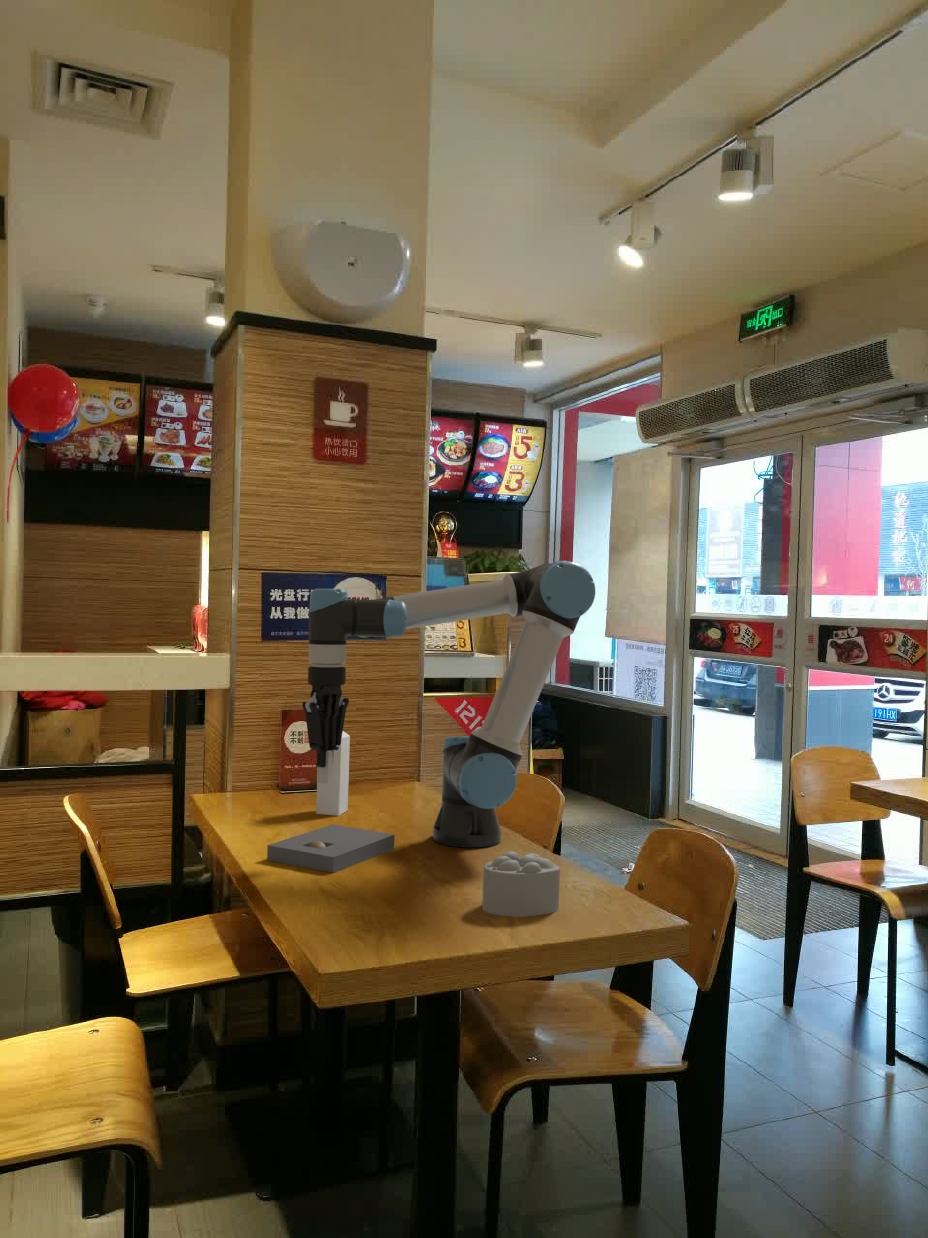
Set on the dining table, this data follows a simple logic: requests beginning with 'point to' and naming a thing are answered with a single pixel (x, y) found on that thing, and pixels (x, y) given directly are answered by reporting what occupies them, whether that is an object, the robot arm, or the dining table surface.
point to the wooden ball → (317, 844)
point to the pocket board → (331, 848)
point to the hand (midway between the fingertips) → (324, 782)
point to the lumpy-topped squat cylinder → (520, 885)
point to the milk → (336, 783)
